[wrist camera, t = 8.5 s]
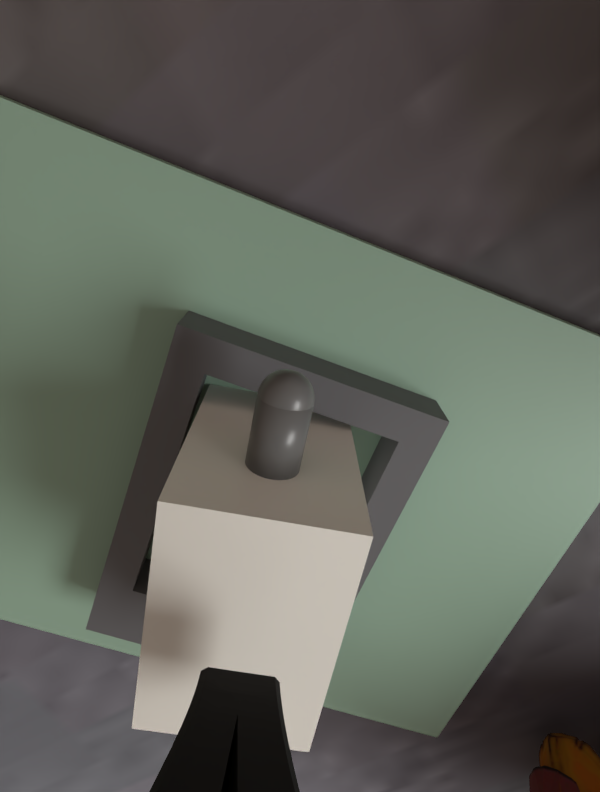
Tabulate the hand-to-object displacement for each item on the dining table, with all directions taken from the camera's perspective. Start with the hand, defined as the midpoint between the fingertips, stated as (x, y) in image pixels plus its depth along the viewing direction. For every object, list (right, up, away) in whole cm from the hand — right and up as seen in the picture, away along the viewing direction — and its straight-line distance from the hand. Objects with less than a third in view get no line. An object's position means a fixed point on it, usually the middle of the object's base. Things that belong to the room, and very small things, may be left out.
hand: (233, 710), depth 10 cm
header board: (0, +3, +8) cm, 8 cm away
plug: (0, +3, +7) cm, 7 cm away
